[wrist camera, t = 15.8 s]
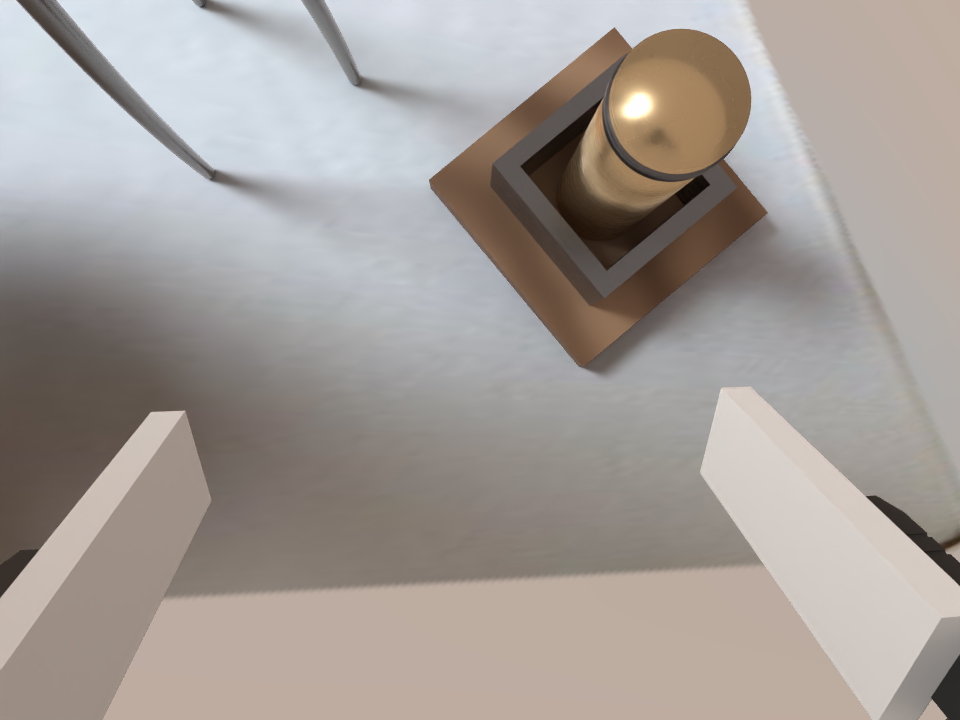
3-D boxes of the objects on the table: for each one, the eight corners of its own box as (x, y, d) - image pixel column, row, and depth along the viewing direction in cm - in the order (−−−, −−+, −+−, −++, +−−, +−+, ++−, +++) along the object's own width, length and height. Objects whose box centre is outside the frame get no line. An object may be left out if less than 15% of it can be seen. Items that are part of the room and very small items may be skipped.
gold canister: (592, 260, 31) (671, 201, 19) (536, 190, 31) (580, 87, 19) (661, 204, 31) (783, 110, 19) (605, 134, 31) (692, -4, 19)
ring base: (578, 366, 33) (584, 366, 31) (431, 188, 33) (429, 179, 31) (754, 219, 33) (767, 212, 31) (608, 42, 33) (614, 27, 31)
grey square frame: (589, 305, 31) (604, 298, 28) (490, 185, 31) (492, 163, 28) (707, 207, 31) (737, 187, 28) (609, 87, 31) (626, 52, 28)
